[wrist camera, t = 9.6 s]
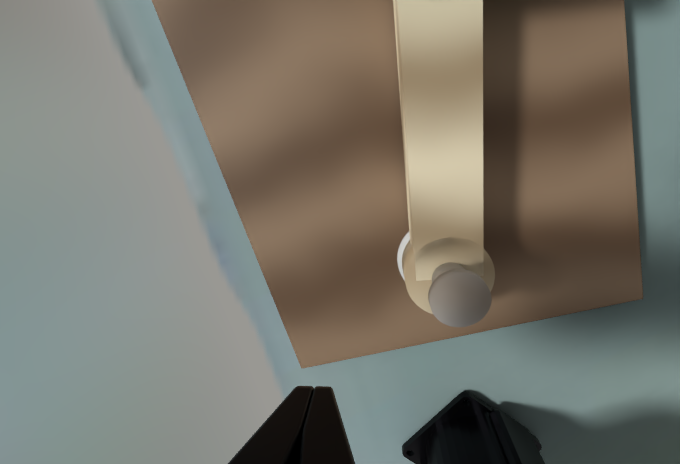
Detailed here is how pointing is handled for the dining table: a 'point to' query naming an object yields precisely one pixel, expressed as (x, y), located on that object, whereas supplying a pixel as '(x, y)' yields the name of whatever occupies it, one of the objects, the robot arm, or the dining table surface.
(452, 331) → the base board
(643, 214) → the dining table surface
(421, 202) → the link
